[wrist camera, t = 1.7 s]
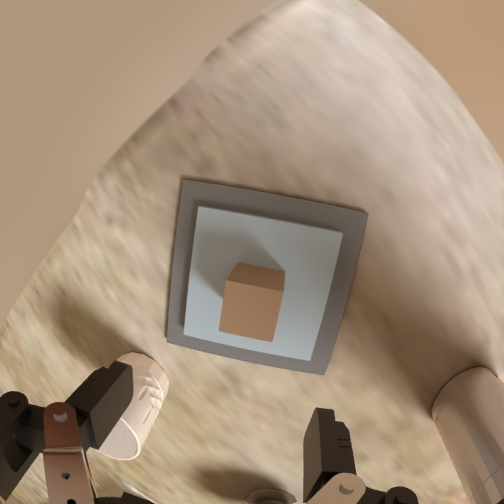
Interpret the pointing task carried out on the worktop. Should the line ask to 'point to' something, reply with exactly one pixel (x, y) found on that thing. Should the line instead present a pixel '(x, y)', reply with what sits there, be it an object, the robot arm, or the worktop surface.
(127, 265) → the worktop surface
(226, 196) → the mat
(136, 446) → the white cup
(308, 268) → the lid
